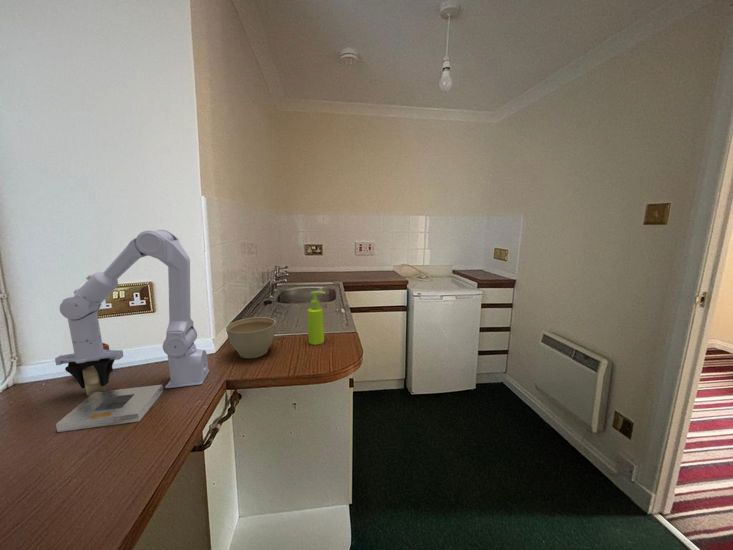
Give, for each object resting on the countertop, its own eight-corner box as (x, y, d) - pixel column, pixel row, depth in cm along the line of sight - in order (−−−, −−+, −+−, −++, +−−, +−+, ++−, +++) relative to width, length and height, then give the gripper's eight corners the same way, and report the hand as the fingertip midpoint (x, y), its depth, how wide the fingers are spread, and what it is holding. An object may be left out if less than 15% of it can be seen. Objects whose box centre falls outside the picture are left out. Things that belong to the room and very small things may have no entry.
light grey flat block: (163, 391, 82) (162, 384, 82) (139, 421, 70) (137, 413, 70) (95, 399, 79) (94, 391, 79) (57, 432, 66) (55, 423, 66)
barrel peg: (109, 387, 85) (105, 364, 83) (100, 394, 81) (96, 371, 80) (92, 388, 84) (88, 365, 83) (82, 396, 80) (78, 372, 79)
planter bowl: (269, 340, 117) (267, 314, 115) (283, 355, 104) (281, 325, 102) (225, 350, 108) (222, 322, 106) (234, 368, 95) (231, 336, 93)
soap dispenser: (325, 344, 113) (323, 293, 109) (307, 344, 113) (305, 293, 110) (327, 338, 119) (326, 289, 115) (310, 338, 119) (308, 289, 115)
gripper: (41, 347, 74) (52, 397, 77) (109, 342, 77) (117, 389, 80) (63, 336, 81) (72, 382, 83) (124, 332, 84) (131, 376, 86)
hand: (95, 385), depth 82 cm, fingers closed on barrel peg, 4 cm apart
